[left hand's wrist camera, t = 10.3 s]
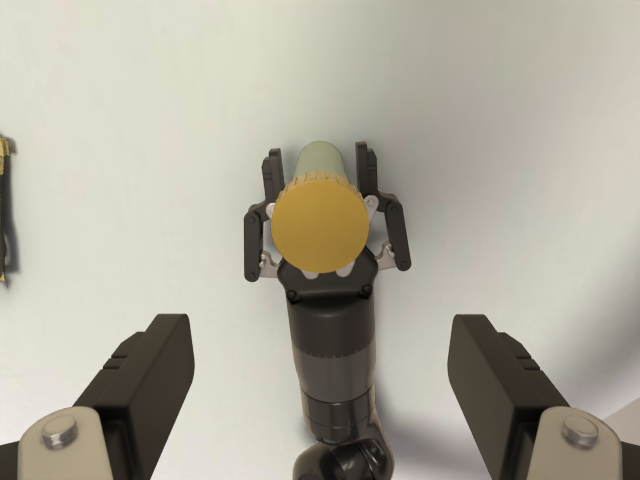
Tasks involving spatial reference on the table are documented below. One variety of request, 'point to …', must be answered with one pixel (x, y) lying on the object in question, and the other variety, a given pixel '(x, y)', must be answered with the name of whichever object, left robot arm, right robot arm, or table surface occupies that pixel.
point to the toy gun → (0, 151)
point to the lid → (320, 222)
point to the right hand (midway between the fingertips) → (317, 147)
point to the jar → (319, 160)
